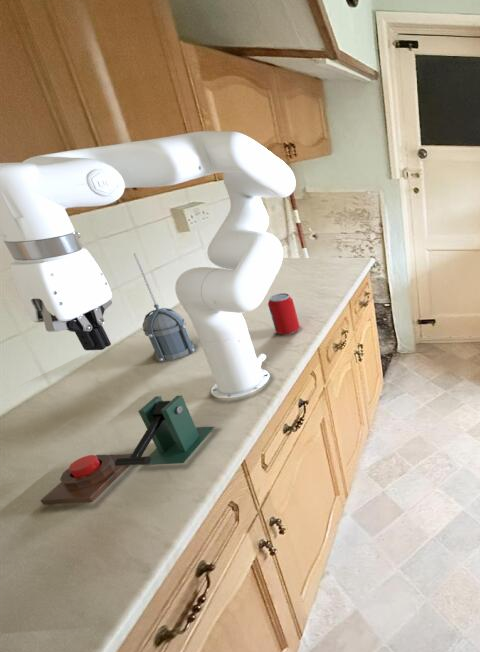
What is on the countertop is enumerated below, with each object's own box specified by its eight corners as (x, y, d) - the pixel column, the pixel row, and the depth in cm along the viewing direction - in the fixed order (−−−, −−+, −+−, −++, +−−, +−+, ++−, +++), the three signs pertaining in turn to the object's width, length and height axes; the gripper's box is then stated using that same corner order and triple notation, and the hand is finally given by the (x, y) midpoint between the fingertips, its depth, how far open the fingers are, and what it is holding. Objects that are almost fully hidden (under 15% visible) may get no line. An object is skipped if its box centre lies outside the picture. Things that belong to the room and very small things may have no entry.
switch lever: (150, 466, 71) (141, 461, 69) (120, 468, 70) (111, 462, 69) (184, 406, 79) (177, 400, 77) (158, 407, 79) (150, 401, 77)
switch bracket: (186, 467, 77) (163, 419, 72) (142, 469, 77) (117, 421, 72) (216, 430, 86) (199, 386, 81) (178, 432, 86) (157, 387, 81)
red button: (85, 462, 73) (81, 455, 73) (106, 461, 74) (102, 454, 73) (67, 478, 70) (62, 471, 69) (88, 477, 70) (84, 470, 70)
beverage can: (285, 325, 130) (276, 291, 125) (304, 326, 129) (296, 293, 124) (271, 335, 124) (261, 300, 119) (291, 336, 123) (281, 302, 118)
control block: (96, 463, 78) (87, 448, 76) (139, 461, 78) (131, 446, 77) (46, 509, 69) (34, 492, 67) (95, 506, 69) (85, 490, 68)
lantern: (206, 342, 120) (170, 246, 107) (181, 362, 110) (138, 259, 97) (170, 342, 119) (130, 247, 107) (141, 362, 110) (93, 259, 97)
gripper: (66, 234, 68) (111, 328, 76) (-36, 263, 55) (31, 373, 63) (112, 234, 69) (152, 327, 76) (22, 262, 55) (82, 371, 63)
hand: (98, 347), depth 69 cm, fingers closed
